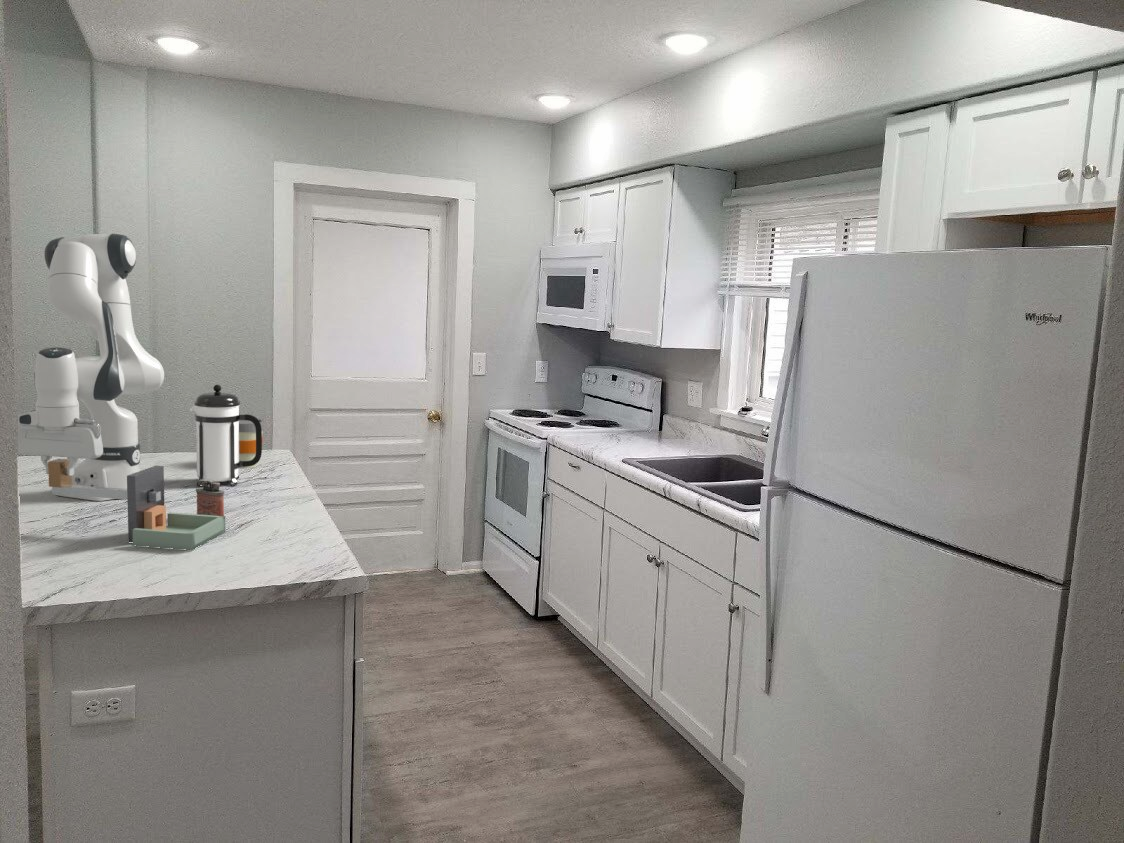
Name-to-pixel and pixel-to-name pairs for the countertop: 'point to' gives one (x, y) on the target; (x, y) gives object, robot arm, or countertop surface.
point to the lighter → (210, 498)
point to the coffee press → (221, 436)
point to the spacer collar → (155, 518)
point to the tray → (181, 531)
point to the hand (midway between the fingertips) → (60, 474)
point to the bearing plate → (142, 495)
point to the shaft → (63, 487)
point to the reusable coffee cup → (248, 441)
